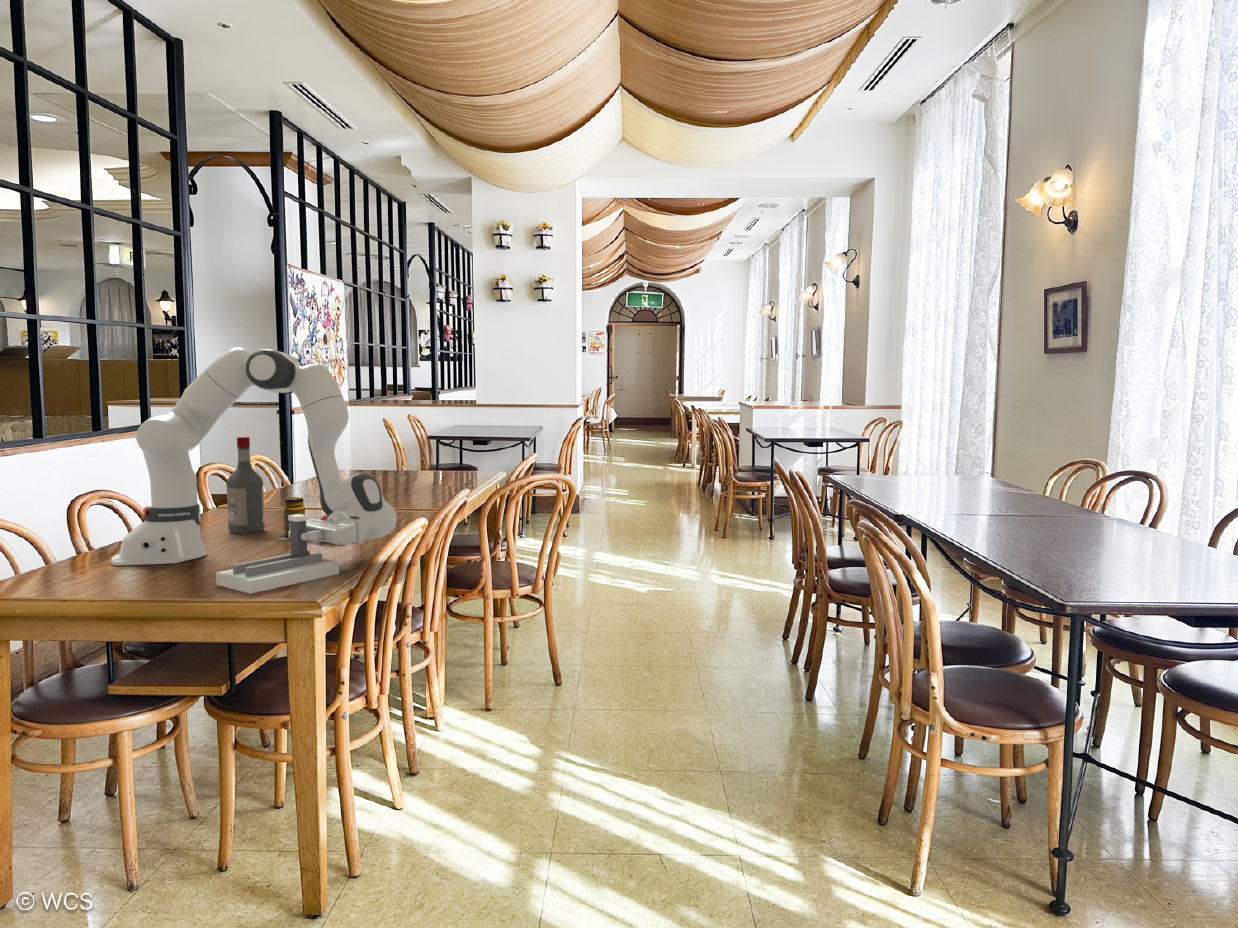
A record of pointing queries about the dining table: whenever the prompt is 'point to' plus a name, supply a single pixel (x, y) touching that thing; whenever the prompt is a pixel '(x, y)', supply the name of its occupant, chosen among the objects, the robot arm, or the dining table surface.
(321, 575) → the box
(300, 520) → the handle
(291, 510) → the condiment
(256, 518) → the liquor
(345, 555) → the dining table surface
